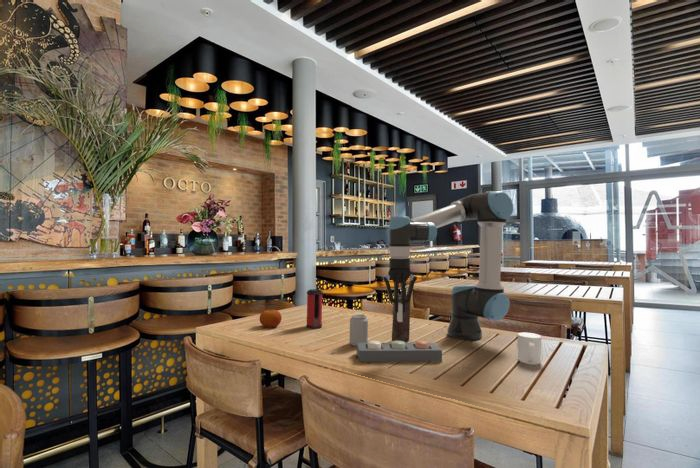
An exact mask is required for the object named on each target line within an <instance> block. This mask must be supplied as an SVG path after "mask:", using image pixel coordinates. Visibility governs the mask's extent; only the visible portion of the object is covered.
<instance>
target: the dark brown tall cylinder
mask: <svg viewBox="0 0 700 468" xmlns="http://www.w3.org/2000/svg"><path fill="white" fill-rule="evenodd" d="M406 295H407V294H405V299H406ZM411 301H412V300H410V302H407V303H406V304H405V312H402V315H403V322H398V321H397V313H396V312H395V311H394V303H393V304H392V305H393V306H392V322H391V323H392V327H391V342H392V341H403V342H405V343H409V342H410V327H411V325H410V324H411V323H410V322H411ZM399 303H401V293H400V294H399Z"/></svg>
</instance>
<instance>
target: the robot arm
mask: <svg viewBox="0 0 700 468" xmlns="http://www.w3.org/2000/svg"><path fill="white" fill-rule="evenodd" d="M513 212H514V204H513V200H512V198H511V197H510V196H509V194H507V193H506V192H504V191H501V190H500V191H497V190H496V191H488V192H486V191H485V192H481V193H473V194H470V195H467V196H465V197H462V198H460V199H457V200H455V201H452V202H451V203H450V204H449V205H447V206H445V207H442V208H438V209H436V210H433V211H430V212H427V213H425V214H421V215H419V216H416V217H414V218H410V217H409V216H407V215H406V216H405V215H404V216H403V215H399V216H397V215H396V216H391V217H390V218H389V224H388V225H389V228H388V237H389V257H390V258H389V270H388V273H387V274H386V275H383V276H382V280H383V281H384V283H385V287H386V292H387V295H388V300H389V302H390V303H394V311H395V312H396V313H397V321H398V322H403V315H402V312H405V304H406V303H407V302H410V303H411V301H412V300H411V299H412V296H413V290H414V287H415V283H416V281H417V280H418V276H415V275H413V274H412V271H411V259H410V257H411V242H416V243H417V242H420V243H421V242H423V243H424V242H426V243H428V242H432V241H434V240H436V238H437V235H438V229H439V228H442V227H444V226H447V225H450V224H452V223H454V222H458V223H460V222H464V221H473V220H477V221H476V222H477V224H478V226H479V227H480V238H479V239H480V243H479V245H480V246H479V265H478V266H479V268H478V270H479V271H478V282H477V284H471V285H469V284H467V285H454V286H453V287H452V289H451V318H450V321H449V323H448V327H447V336H449V337H451V338H454V339H458V340H467V341H468V340H469V341H471V340H472V341H473V340H481V339H482V337H483V330H482V328H481V325H480V322H479V317H480V318H483V319H486V320H489V321H490V320H492V321H500V320H502V319H503V318H504V317H505V316H506V315H507V314H508V311H509V310H510V305H511V302H510V298H509V297H508V295H506V293H504V292H505V288H504V287H503V285H502V284H501V275H502V274H501V273H502V272H501V271H502V270H501V269H502V246H503V245H502V243H503V242H502V241H503V238H502V237H503V227H504V226H506V225H507V219H509V218H510V217H512V214H513ZM390 279H391V280H392V281H393V293H392V289H391V288H392V287H391V284H390V283H391V282H390ZM408 280H409V282H408V289H407V291H406V286H407V284H406V282H407V281H408ZM399 287H400V291H399ZM399 292H400V294H401V303H399ZM405 295H406V299H405ZM410 300H411V301H410Z"/></svg>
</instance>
